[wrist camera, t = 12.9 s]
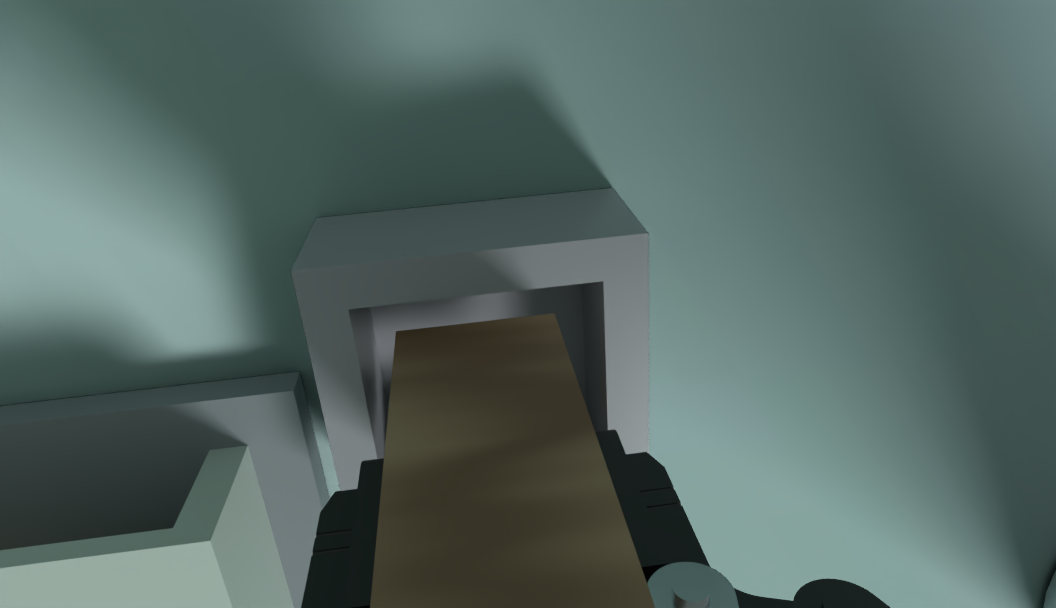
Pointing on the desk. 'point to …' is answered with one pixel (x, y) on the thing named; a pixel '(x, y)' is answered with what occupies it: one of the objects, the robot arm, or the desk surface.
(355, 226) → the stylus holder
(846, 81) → the desk surface
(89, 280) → the desk surface
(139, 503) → the grey box with hole
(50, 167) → the desk surface
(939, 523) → the desk surface
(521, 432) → the brown block
